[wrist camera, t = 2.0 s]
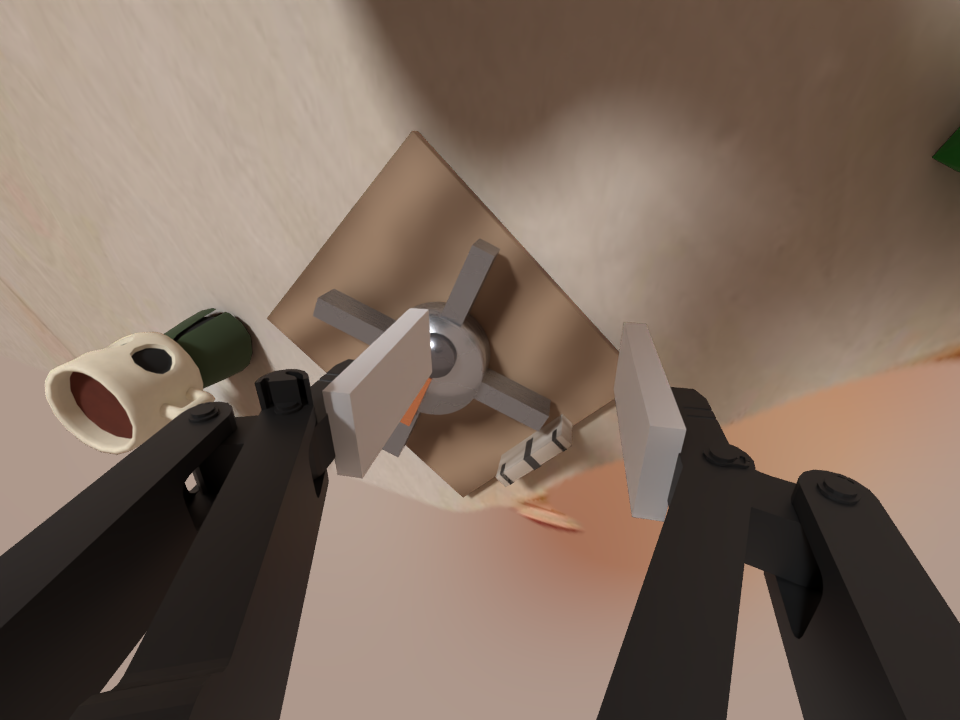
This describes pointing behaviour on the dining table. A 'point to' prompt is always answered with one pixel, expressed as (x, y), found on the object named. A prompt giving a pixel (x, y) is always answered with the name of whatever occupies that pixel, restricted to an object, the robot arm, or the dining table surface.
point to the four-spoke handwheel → (445, 352)
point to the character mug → (145, 380)
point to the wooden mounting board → (498, 308)
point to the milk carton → (950, 152)
